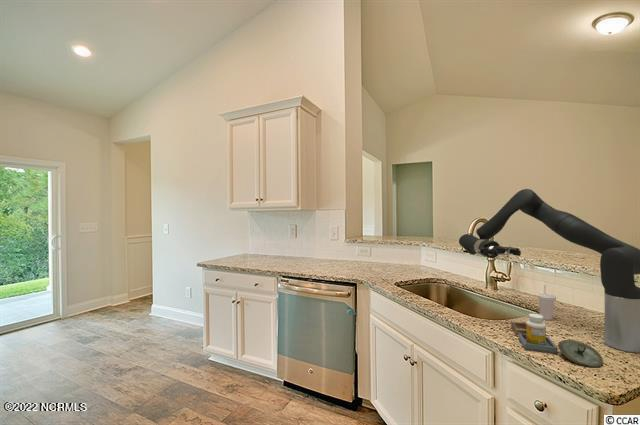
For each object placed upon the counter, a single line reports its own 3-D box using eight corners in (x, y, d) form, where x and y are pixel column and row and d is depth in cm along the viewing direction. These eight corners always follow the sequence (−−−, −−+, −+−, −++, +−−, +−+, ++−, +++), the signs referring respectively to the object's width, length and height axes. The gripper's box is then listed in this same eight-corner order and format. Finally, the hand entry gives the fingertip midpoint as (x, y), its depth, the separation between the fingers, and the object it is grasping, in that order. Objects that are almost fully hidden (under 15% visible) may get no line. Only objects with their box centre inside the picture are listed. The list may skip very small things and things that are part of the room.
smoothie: (538, 314, 130) (538, 282, 130) (557, 318, 125) (557, 285, 125) (535, 318, 125) (535, 285, 125) (554, 322, 121) (554, 288, 121)
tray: (548, 342, 103) (548, 337, 103) (557, 354, 95) (557, 348, 95) (518, 338, 106) (518, 333, 106) (524, 349, 98) (524, 343, 98)
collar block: (536, 329, 114) (536, 324, 114) (542, 338, 106) (542, 332, 106) (511, 326, 117) (511, 321, 117) (515, 334, 110) (515, 329, 110)
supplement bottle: (527, 339, 105) (527, 311, 104) (546, 343, 101) (546, 315, 101) (525, 344, 100) (525, 316, 100) (545, 349, 97) (545, 319, 97)
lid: (586, 352, 96) (586, 337, 96) (612, 368, 86) (612, 351, 86) (550, 351, 97) (550, 336, 97) (573, 367, 87) (573, 350, 87)
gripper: (470, 239, 132) (489, 243, 116) (503, 239, 131) (527, 243, 115) (470, 256, 132) (489, 263, 116) (503, 256, 131) (527, 262, 115)
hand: (508, 253), depth 115 cm, fingers open, 8 cm apart
